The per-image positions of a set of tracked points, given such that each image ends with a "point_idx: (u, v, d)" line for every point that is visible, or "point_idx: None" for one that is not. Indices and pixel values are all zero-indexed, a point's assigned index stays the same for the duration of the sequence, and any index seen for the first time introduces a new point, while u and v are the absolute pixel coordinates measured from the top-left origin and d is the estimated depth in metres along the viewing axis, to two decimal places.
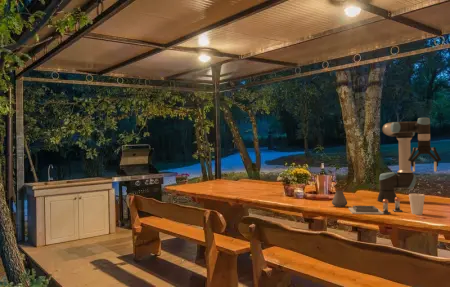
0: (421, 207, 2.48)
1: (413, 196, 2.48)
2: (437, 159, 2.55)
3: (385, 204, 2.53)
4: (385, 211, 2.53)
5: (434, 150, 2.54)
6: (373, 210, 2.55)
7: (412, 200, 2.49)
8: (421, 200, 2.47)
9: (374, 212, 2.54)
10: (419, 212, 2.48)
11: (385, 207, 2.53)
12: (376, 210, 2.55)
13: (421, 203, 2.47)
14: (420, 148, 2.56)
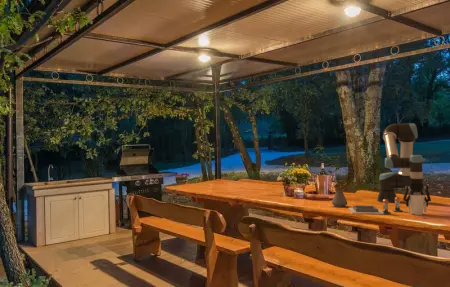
0: (421, 207, 2.48)
1: (413, 196, 2.48)
2: (427, 199, 2.50)
3: (385, 204, 2.53)
4: (385, 211, 2.53)
5: (426, 189, 2.49)
6: (373, 210, 2.55)
7: (412, 200, 2.49)
8: (421, 200, 2.47)
9: (374, 212, 2.54)
10: (419, 212, 2.48)
11: (385, 207, 2.53)
12: (376, 210, 2.55)
13: (421, 203, 2.47)
14: (412, 186, 2.51)
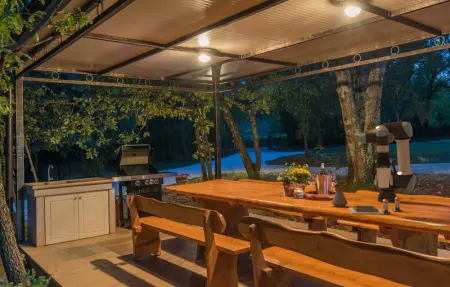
0: (387, 180, 2.51)
1: (379, 169, 2.52)
2: (393, 173, 2.54)
3: (385, 204, 2.53)
4: (385, 211, 2.53)
5: (392, 163, 2.53)
6: (373, 210, 2.55)
7: (378, 173, 2.53)
8: (387, 173, 2.50)
9: (374, 212, 2.54)
10: (385, 185, 2.51)
11: (385, 207, 2.53)
12: (376, 210, 2.55)
13: (387, 176, 2.51)
14: (379, 160, 2.54)
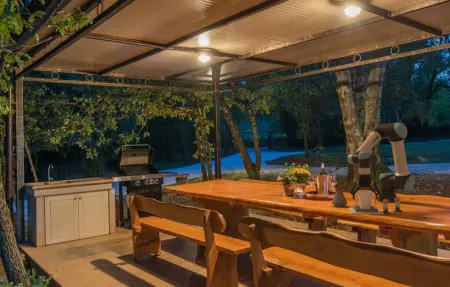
0: (368, 203, 2.59)
1: (361, 193, 2.60)
2: (377, 192, 2.62)
3: (385, 204, 2.53)
4: (385, 211, 2.53)
5: (374, 184, 2.61)
6: (373, 210, 2.55)
7: (360, 197, 2.61)
8: (368, 197, 2.59)
9: (374, 212, 2.54)
10: (366, 208, 2.60)
11: (385, 207, 2.53)
12: (376, 210, 2.55)
13: (368, 199, 2.59)
14: (360, 181, 2.62)
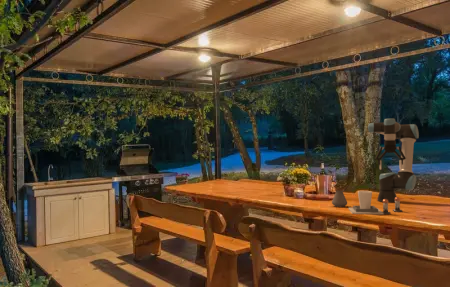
0: (368, 203, 2.59)
1: (361, 193, 2.60)
2: (402, 158, 2.70)
3: (385, 204, 2.53)
4: (385, 211, 2.53)
5: (399, 149, 2.69)
6: (373, 210, 2.55)
7: (360, 197, 2.61)
8: (368, 197, 2.59)
9: (374, 212, 2.54)
10: (366, 208, 2.60)
11: (385, 207, 2.53)
12: (376, 210, 2.55)
13: (368, 200, 2.59)
14: (386, 147, 2.71)
